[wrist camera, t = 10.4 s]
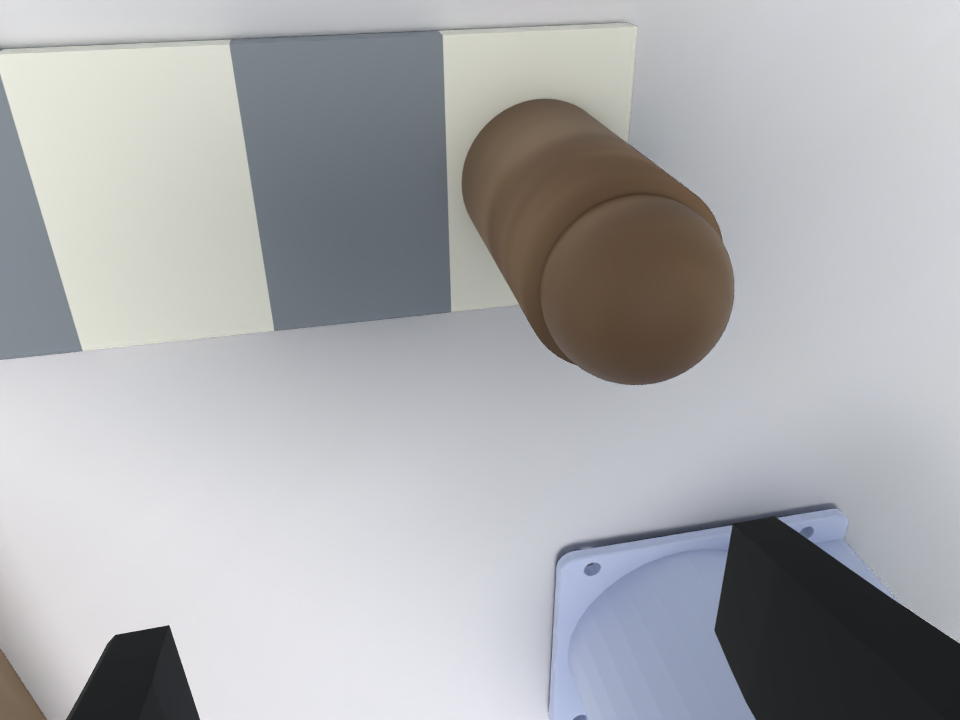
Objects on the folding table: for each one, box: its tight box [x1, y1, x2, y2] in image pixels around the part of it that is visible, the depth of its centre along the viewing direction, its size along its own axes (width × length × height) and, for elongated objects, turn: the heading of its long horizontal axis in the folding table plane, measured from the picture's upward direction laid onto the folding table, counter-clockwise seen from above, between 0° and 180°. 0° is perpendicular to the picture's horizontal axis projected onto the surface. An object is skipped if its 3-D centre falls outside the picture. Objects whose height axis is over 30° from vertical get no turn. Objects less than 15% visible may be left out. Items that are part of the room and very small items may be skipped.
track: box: [0, 23, 638, 360], centre depth 16 cm, size 24×6×1 cm, turn 90°
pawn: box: [462, 99, 734, 385], centre depth 14 cm, size 3×3×7 cm
